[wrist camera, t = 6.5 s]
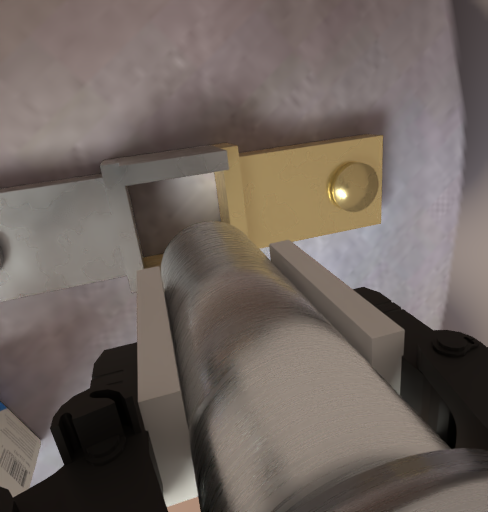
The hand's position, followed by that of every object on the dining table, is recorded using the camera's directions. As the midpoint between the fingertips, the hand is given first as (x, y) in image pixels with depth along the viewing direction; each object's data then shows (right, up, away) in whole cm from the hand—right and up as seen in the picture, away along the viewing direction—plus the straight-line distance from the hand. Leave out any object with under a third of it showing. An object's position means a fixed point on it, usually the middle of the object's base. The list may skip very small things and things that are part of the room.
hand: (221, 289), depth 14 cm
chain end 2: (+2, +5, +12) cm, 14 cm away
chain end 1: (-9, +3, +10) cm, 14 cm away
